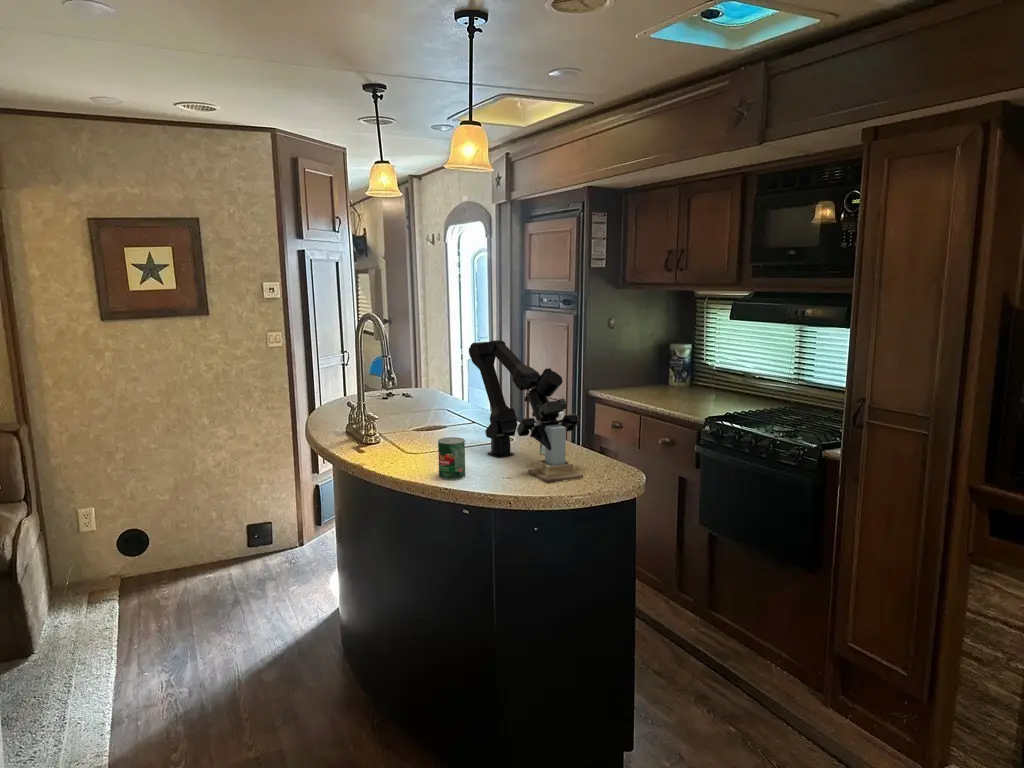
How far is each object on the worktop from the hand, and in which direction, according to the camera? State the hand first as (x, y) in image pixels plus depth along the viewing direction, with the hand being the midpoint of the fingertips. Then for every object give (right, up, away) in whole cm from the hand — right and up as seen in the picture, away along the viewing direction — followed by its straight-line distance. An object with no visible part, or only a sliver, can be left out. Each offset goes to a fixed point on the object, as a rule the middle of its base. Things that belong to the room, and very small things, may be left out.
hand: (557, 448), depth 201 cm
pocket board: (0, -8, +2) cm, 9 cm away
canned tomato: (-31, -9, +2) cm, 32 cm away
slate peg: (-1, -6, +2) cm, 7 cm away
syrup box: (0, -5, +28) cm, 29 cm away
